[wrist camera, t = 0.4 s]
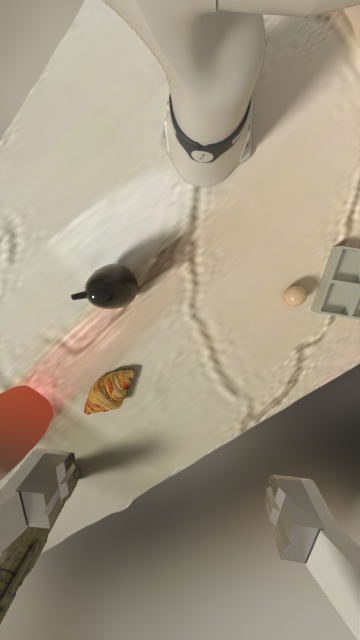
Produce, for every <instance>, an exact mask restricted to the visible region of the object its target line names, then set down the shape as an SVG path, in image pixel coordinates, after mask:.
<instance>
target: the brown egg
mask: <svg viewBox="0 0 360 640" xmlns="http://www.w3.org/2000/svg"><path fill="white" fill-rule="evenodd" d="M283 298H284V301H285V302H286V303H287V304H288V305H290V306H299V305H301V304H303V303H304V302H305V300H306V298H307V293H306V291H305V289H304V288H302V287H300V286H291V287H289V288H288V289H286V291H285V292H284V295H283Z"/></svg>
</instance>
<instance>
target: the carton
mask: <svg viewBox="0 0 360 640" xmlns="http://www.w3.org/2000/svg"><path fill="white" fill-rule="evenodd" d="M311 310H312V311H314V312H316V313H321V314H327V315H333V316H340V317H346V318H353V319H359V320H360V249H359V248H352V247H345V246H335V247H332V250H331V253H330V256H329V259H328V262H327V264H326V267H325V270H324V273H323V276H322V279H321V282H320V285H319V287H318V290H317V293H316V296H315V299H314V302H313V305H312V308H311Z"/></svg>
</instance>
